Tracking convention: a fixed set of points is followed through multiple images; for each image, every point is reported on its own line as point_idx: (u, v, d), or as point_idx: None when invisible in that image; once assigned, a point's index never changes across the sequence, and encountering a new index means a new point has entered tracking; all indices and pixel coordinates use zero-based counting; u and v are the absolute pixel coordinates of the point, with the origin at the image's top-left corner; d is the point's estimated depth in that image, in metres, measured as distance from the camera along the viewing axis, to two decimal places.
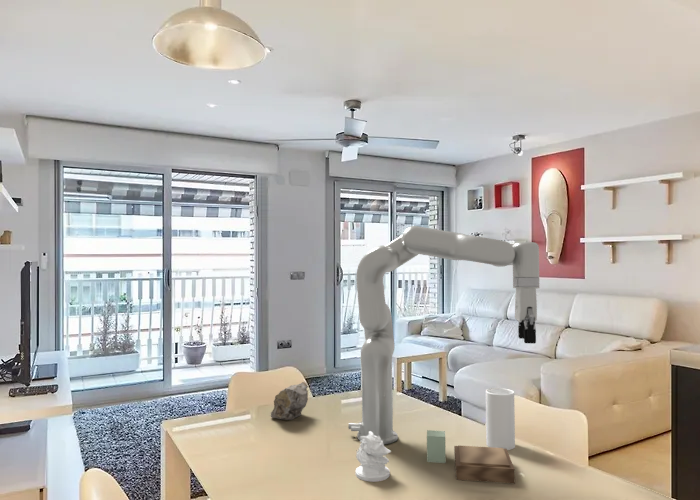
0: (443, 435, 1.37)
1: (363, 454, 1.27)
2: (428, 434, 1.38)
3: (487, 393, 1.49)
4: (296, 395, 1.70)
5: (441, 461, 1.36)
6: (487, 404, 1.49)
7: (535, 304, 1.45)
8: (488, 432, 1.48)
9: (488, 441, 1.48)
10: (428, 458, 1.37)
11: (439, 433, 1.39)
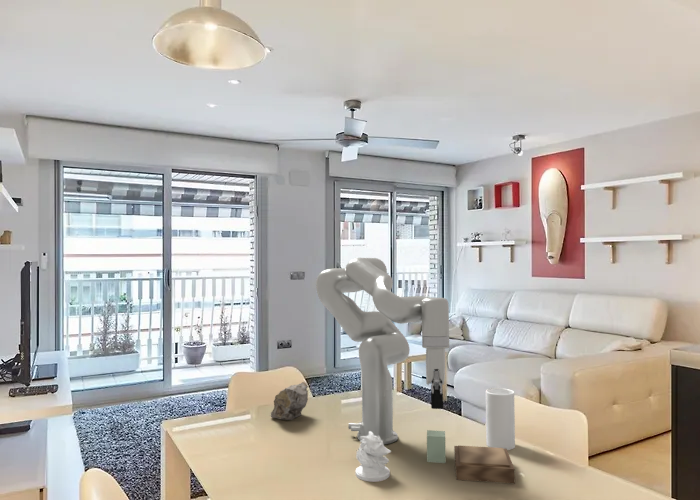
0: (443, 435, 1.37)
1: (363, 454, 1.27)
2: (428, 434, 1.38)
3: (487, 393, 1.49)
4: (296, 395, 1.70)
5: (441, 461, 1.36)
6: (487, 404, 1.49)
7: (442, 366, 1.35)
8: (488, 432, 1.48)
9: (488, 441, 1.48)
10: (428, 458, 1.37)
11: (439, 433, 1.39)
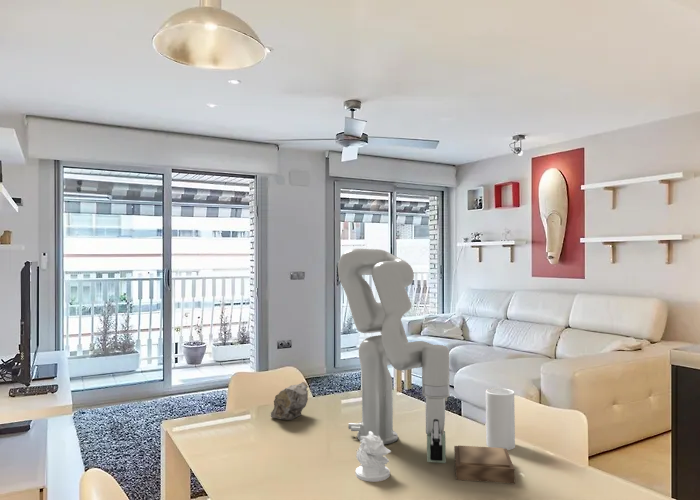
0: (443, 435, 1.37)
1: (363, 454, 1.27)
2: (428, 434, 1.38)
3: (487, 393, 1.49)
4: (296, 395, 1.70)
5: (441, 461, 1.36)
6: (487, 404, 1.49)
7: (442, 416, 1.34)
8: (488, 432, 1.48)
9: (488, 441, 1.48)
10: (428, 458, 1.37)
11: (439, 432, 1.39)
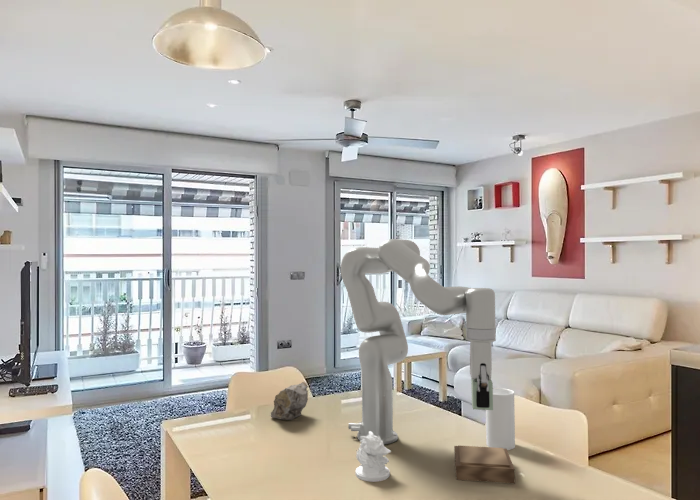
0: (490, 381, 1.30)
1: (363, 454, 1.27)
2: (474, 380, 1.31)
3: None
4: (296, 395, 1.70)
5: (488, 408, 1.29)
6: None
7: (489, 360, 1.27)
8: (488, 432, 1.48)
9: (488, 441, 1.48)
10: (474, 405, 1.29)
11: None
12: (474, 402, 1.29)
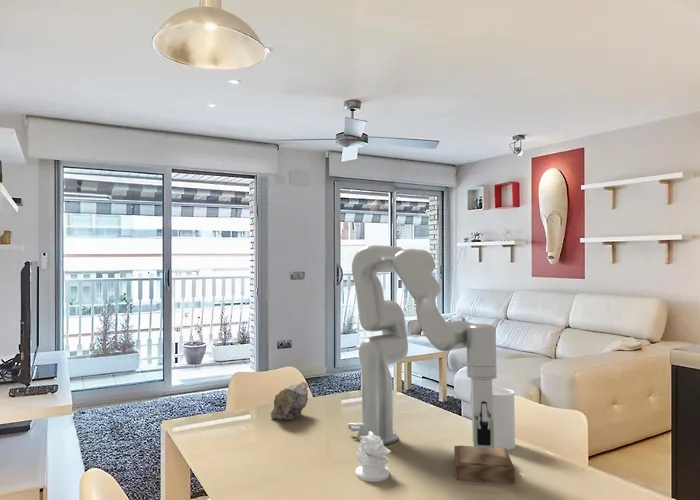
0: (491, 418, 1.30)
1: (363, 454, 1.27)
2: None
3: None
4: (296, 395, 1.70)
5: (489, 446, 1.28)
6: None
7: (490, 398, 1.27)
8: None
9: None
10: (475, 443, 1.29)
11: None
12: (475, 439, 1.29)
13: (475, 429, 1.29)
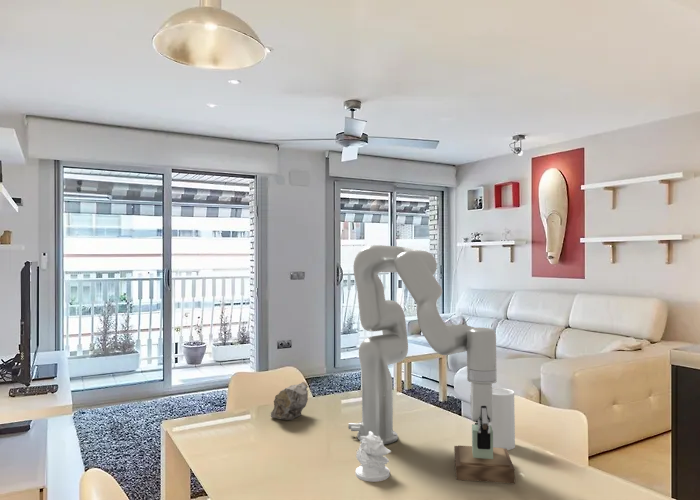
0: (490, 429, 1.30)
1: (363, 454, 1.27)
2: (474, 428, 1.30)
3: None
4: (296, 395, 1.70)
5: (488, 457, 1.28)
6: None
7: (490, 403, 1.27)
8: None
9: None
10: (474, 454, 1.29)
11: None
12: (474, 450, 1.29)
13: (474, 440, 1.29)
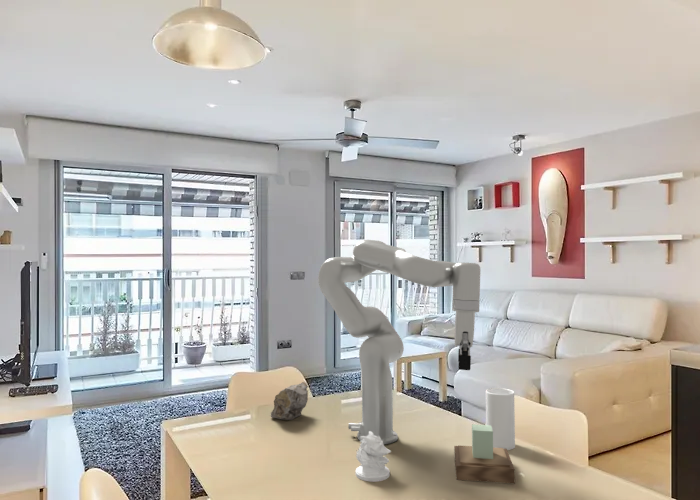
0: (490, 429, 1.30)
1: (363, 454, 1.27)
2: (474, 428, 1.30)
3: (487, 393, 1.49)
4: (296, 395, 1.70)
5: (488, 457, 1.28)
6: (487, 404, 1.49)
7: (471, 329, 1.37)
8: None
9: None
10: (474, 454, 1.29)
11: (486, 427, 1.32)
12: (474, 450, 1.29)
13: (474, 440, 1.29)
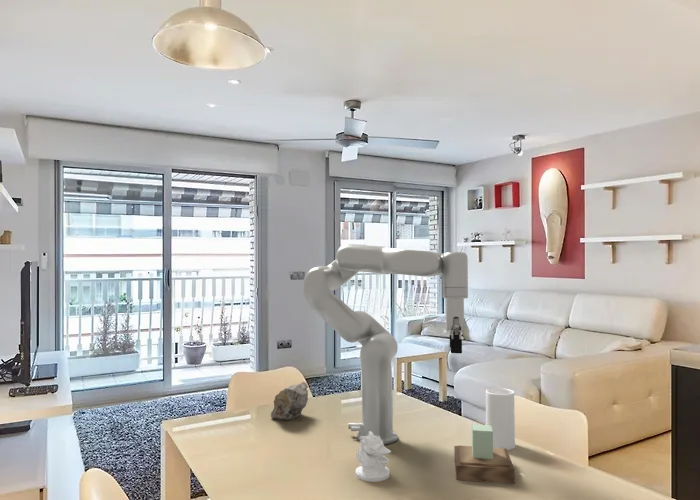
0: (490, 429, 1.30)
1: (363, 454, 1.27)
2: (474, 428, 1.30)
3: (487, 393, 1.49)
4: (296, 395, 1.70)
5: (488, 457, 1.28)
6: (487, 404, 1.49)
7: (461, 314, 1.45)
8: None
9: None
10: (474, 454, 1.29)
11: (486, 427, 1.32)
12: (474, 450, 1.29)
13: (474, 440, 1.29)
